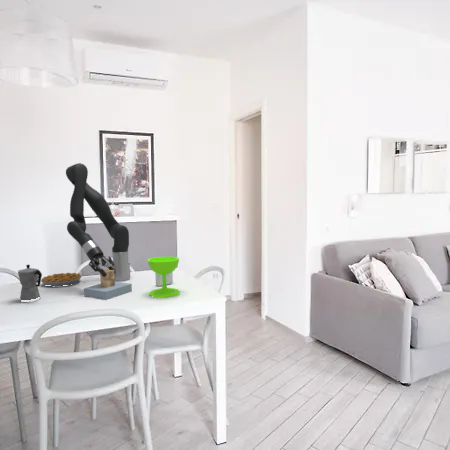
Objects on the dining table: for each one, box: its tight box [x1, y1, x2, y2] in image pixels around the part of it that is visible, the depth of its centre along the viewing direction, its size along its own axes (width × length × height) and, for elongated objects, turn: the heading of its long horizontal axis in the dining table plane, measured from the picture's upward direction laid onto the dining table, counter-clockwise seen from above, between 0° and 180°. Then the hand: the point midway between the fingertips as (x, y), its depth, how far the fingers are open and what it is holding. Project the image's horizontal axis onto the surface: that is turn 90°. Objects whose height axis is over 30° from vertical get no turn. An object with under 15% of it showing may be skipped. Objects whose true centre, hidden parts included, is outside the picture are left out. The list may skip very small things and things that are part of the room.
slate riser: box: [83, 281, 133, 300], centre depth 206 cm, size 18×16×4 cm
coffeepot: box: [17, 264, 43, 300], centre depth 195 cm, size 15×9×18 cm, turn 66°
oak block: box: [99, 269, 116, 288], centre depth 205 cm, size 5×5×8 cm
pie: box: [40, 272, 82, 286], centre depth 231 cm, size 22×22×5 cm
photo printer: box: [154, 272, 174, 287], centre depth 222 cm, size 10×4×12 cm, turn 134°
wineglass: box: [147, 256, 181, 298], centre depth 203 cm, size 16×16×18 cm
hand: (109, 274), depth 204 cm, fingers open, 5 cm apart
